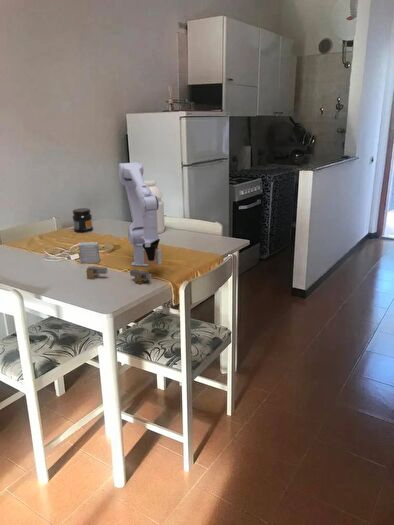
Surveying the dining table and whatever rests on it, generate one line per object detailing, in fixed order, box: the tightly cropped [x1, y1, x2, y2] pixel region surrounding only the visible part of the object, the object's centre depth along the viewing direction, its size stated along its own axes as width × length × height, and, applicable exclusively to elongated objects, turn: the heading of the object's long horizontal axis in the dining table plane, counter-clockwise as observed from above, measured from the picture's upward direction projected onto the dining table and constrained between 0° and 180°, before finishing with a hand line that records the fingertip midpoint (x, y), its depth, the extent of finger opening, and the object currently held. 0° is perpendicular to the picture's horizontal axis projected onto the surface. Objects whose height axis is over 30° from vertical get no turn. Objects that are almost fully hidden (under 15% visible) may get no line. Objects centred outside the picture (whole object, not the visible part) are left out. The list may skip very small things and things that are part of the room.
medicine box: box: [78, 241, 101, 264], centre depth 191 cm, size 8×4×9 cm, turn 92°
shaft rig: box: [86, 265, 152, 285], centre depth 171 cm, size 7×28×4 cm, turn 77°
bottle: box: [144, 179, 166, 235], centre depth 233 cm, size 14×14×28 cm
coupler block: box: [142, 247, 163, 266], centre depth 174 cm, size 4×7×6 cm, turn 77°
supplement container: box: [72, 207, 94, 234], centre depth 241 cm, size 10×10×12 cm
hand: (152, 258), depth 174 cm, fingers closed on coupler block, 4 cm apart
